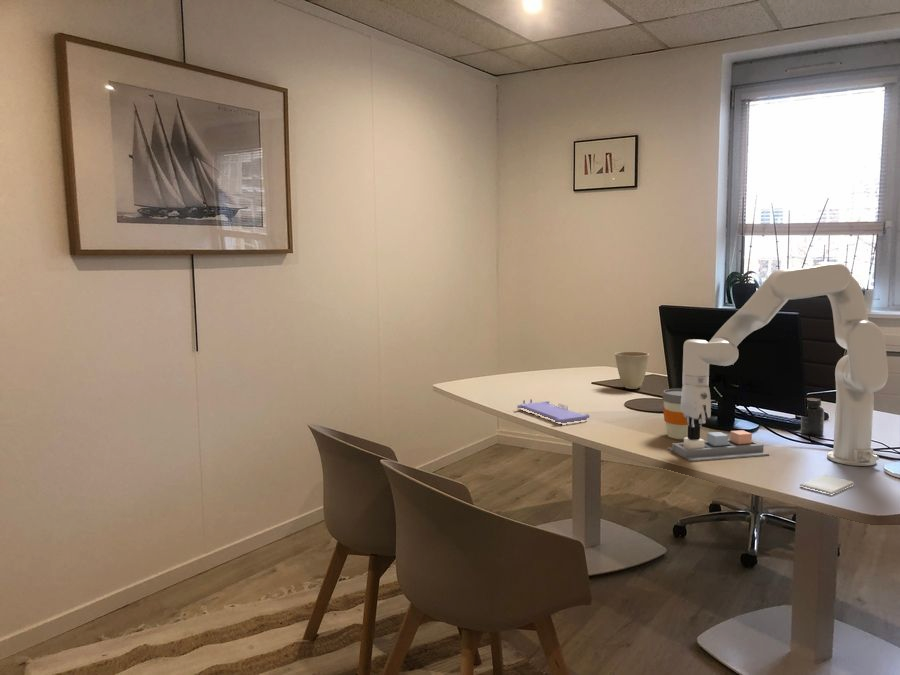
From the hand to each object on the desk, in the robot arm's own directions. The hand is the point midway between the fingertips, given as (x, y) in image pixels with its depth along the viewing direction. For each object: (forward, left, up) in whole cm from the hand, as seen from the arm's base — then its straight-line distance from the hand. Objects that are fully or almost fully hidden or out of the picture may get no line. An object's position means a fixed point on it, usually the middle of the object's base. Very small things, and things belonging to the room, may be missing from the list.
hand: (693, 438), depth 213 cm
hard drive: (-35, -18, -6) cm, 40 cm away
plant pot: (+99, -27, -5) cm, 103 cm away
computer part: (+59, +25, -5) cm, 64 cm away
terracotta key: (0, -16, -2) cm, 16 cm away
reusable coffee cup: (+20, -7, -5) cm, 22 cm away
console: (0, -8, -5) cm, 9 cm away
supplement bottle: (+11, -50, -5) cm, 52 cm away
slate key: (0, -8, -2) cm, 8 cm away
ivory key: (0, 0, -3) cm, 3 cm away
